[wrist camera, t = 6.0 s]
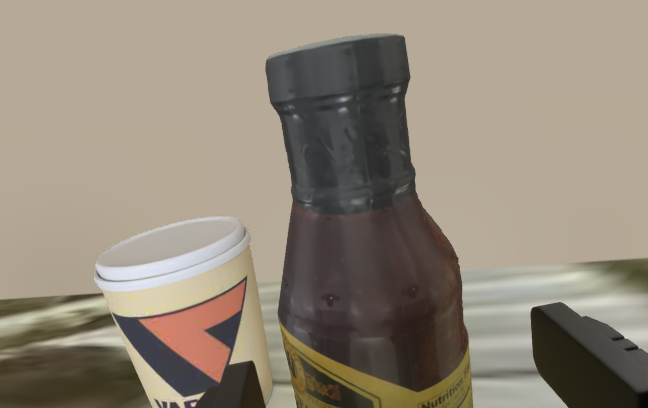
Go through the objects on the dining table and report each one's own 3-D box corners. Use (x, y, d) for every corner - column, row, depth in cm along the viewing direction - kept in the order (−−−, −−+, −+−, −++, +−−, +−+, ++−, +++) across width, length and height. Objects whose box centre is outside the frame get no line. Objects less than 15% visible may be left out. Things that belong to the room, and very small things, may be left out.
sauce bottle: (312, 519, 19) (206, 78, 14) (424, 458, 21) (365, 54, 16) (383, 704, 13) (238, 36, 8) (531, 592, 15) (489, 6, 10)
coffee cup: (135, 480, 23) (63, 287, 20) (159, 379, 31) (112, 236, 29) (295, 424, 24) (251, 240, 22) (275, 343, 33) (242, 205, 30)
